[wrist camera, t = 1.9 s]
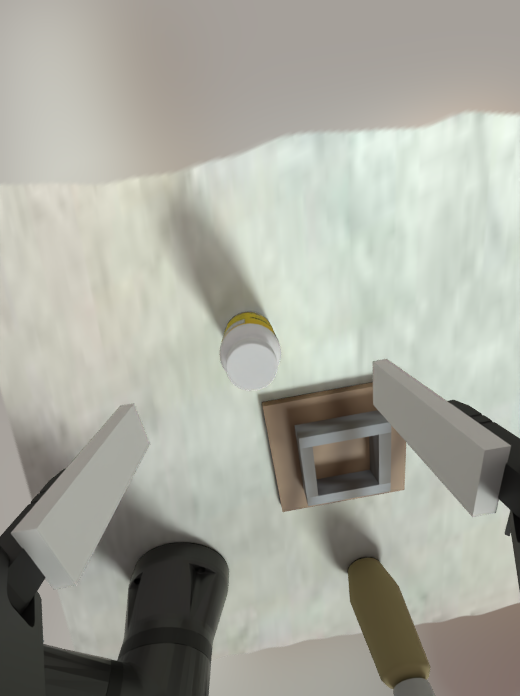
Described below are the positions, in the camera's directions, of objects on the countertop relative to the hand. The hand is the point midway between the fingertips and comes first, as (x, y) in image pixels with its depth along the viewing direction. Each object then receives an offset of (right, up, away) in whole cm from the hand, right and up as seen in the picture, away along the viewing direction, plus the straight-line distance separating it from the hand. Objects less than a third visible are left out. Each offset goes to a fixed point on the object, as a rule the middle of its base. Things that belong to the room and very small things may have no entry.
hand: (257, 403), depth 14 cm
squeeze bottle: (+18, -35, +29) cm, 49 cm away
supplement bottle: (-1, +5, +14) cm, 15 cm away
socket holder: (+11, -11, +20) cm, 25 cm away
